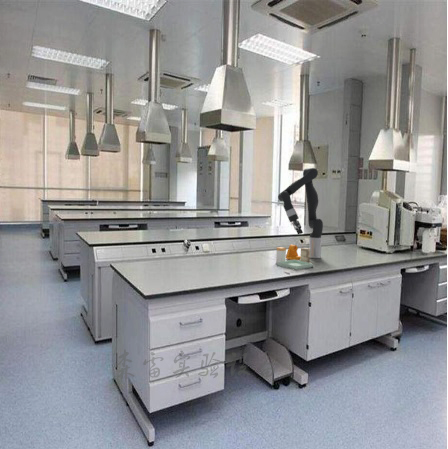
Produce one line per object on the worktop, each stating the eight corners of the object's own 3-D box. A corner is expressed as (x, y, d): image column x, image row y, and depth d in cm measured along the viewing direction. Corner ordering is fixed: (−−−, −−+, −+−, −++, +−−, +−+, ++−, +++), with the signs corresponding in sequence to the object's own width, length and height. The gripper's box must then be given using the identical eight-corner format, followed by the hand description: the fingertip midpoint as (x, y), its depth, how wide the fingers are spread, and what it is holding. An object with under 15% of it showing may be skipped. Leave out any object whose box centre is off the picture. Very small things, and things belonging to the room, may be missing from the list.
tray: (294, 263, 286) (294, 259, 286) (312, 267, 272) (313, 263, 271) (278, 265, 275) (278, 261, 275) (296, 270, 261) (296, 266, 261)
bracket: (291, 260, 296) (291, 246, 295) (285, 259, 302) (286, 244, 301) (301, 259, 301) (302, 245, 299) (296, 258, 307) (296, 244, 306)
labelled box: (280, 262, 289) (281, 247, 288) (285, 263, 285) (285, 247, 284) (276, 262, 286) (276, 247, 285) (280, 264, 282) (281, 248, 281)
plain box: (304, 263, 288) (305, 247, 286) (309, 264, 284) (310, 248, 282) (300, 263, 285) (300, 248, 284) (305, 264, 281) (305, 249, 280)
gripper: (298, 212, 286) (306, 231, 285) (294, 214, 301) (302, 232, 300) (289, 216, 286) (298, 235, 285) (286, 217, 300) (294, 236, 299)
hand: (300, 233), depth 292 cm, fingers open, 8 cm apart
